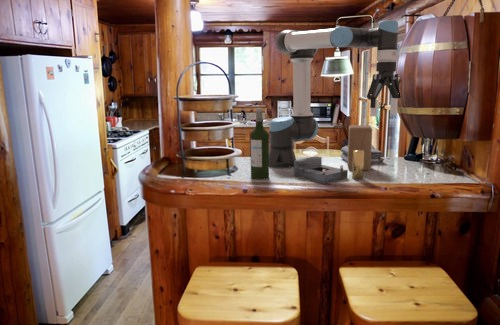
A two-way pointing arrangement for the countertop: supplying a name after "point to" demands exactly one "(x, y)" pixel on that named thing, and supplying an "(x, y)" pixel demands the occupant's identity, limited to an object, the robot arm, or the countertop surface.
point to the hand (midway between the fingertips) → (383, 115)
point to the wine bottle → (259, 149)
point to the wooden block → (360, 144)
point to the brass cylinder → (358, 164)
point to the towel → (375, 155)
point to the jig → (318, 170)
